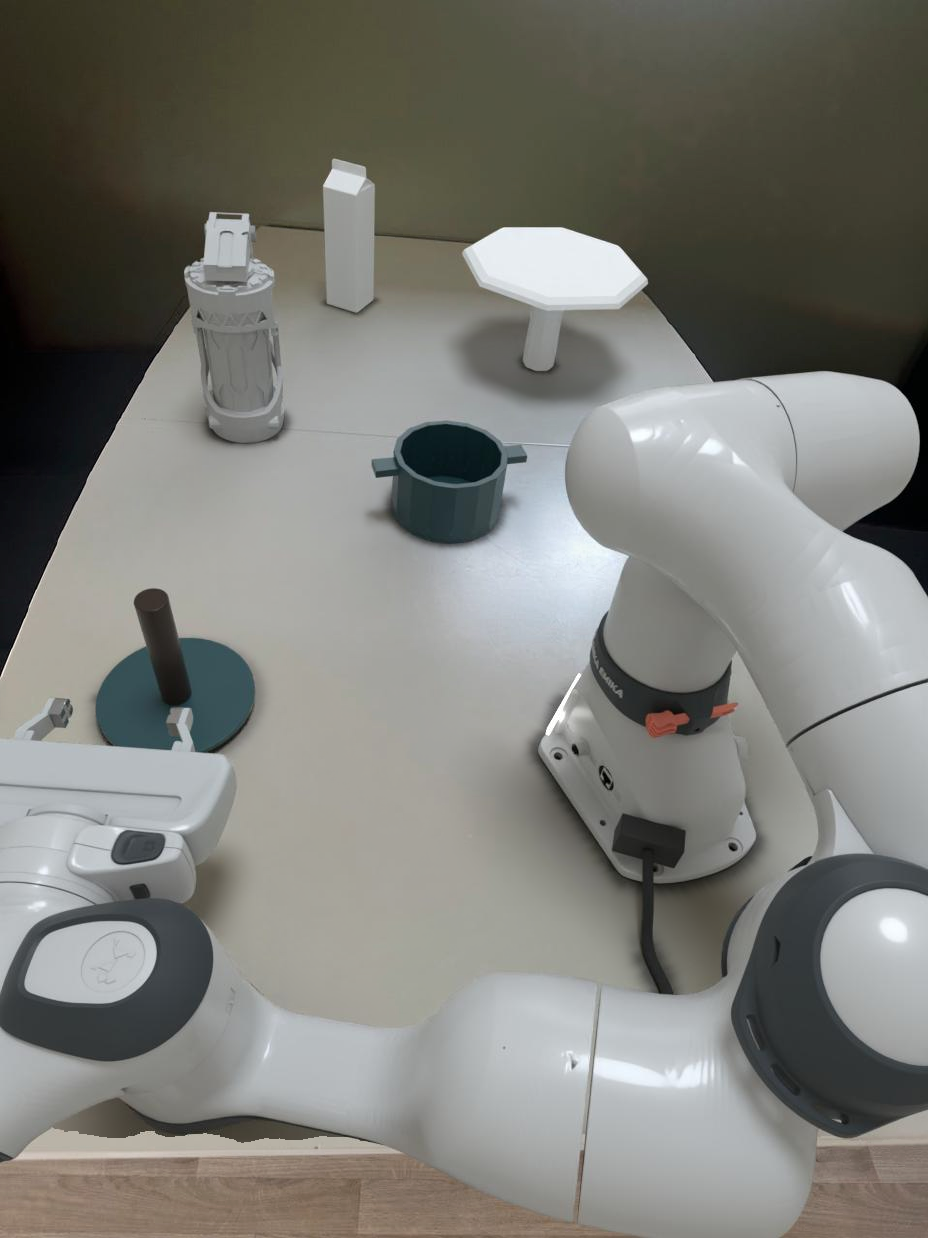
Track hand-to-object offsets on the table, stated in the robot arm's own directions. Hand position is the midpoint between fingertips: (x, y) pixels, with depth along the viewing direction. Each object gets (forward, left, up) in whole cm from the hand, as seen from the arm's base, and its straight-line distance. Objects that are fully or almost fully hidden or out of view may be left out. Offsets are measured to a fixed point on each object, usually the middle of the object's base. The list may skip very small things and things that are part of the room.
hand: (122, 707), depth 63 cm
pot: (+33, -37, -11) cm, 51 cm away
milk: (+90, -36, -11) cm, 97 cm away
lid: (+9, -3, -11) cm, 14 cm away
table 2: (+66, -62, -11) cm, 91 cm away
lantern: (+57, -15, -11) cm, 60 cm away
